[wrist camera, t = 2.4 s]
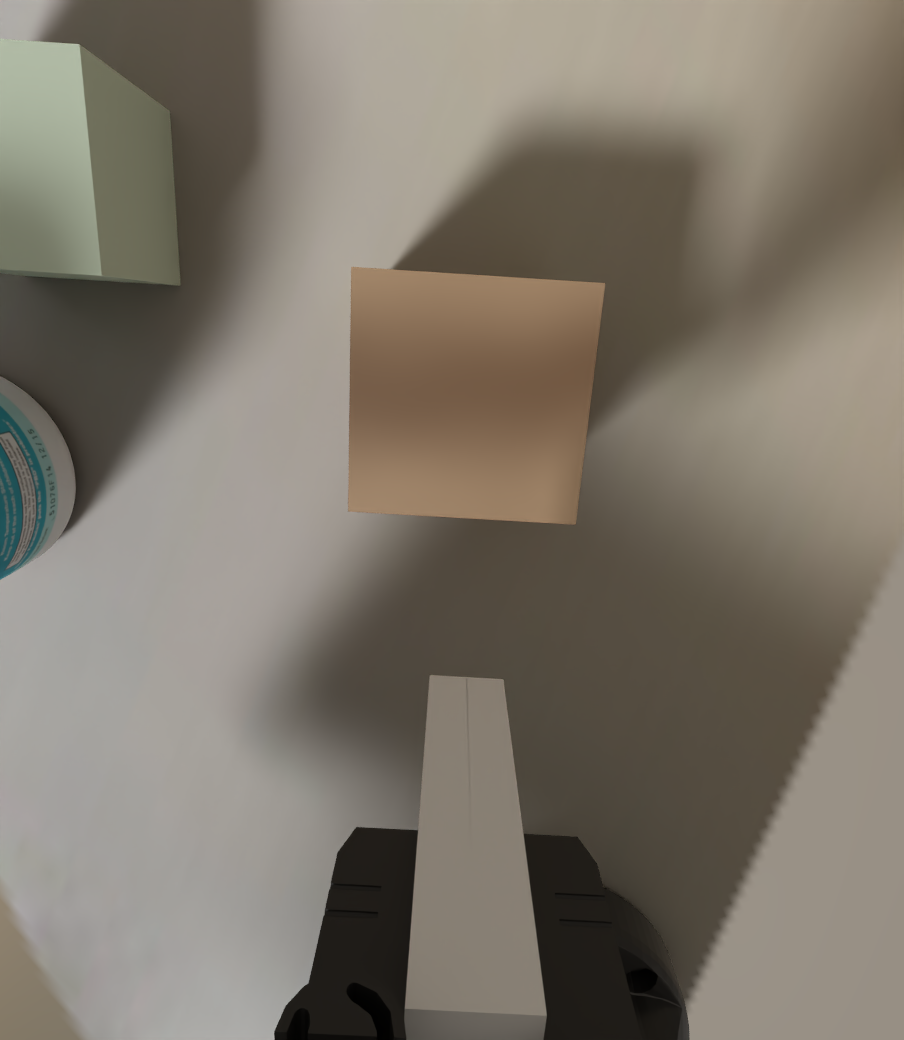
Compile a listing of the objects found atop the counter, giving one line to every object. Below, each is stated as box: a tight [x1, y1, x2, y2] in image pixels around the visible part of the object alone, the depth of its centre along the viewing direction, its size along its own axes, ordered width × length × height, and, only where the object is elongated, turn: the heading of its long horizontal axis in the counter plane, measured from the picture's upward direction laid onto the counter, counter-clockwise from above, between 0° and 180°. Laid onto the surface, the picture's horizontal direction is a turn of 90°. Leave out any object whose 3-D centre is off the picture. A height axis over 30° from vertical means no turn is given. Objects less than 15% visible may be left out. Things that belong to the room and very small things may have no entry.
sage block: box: [0, 39, 181, 286], centre depth 18 cm, size 5×5×5 cm
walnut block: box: [348, 267, 605, 525], centre depth 19 cm, size 6×6×6 cm
